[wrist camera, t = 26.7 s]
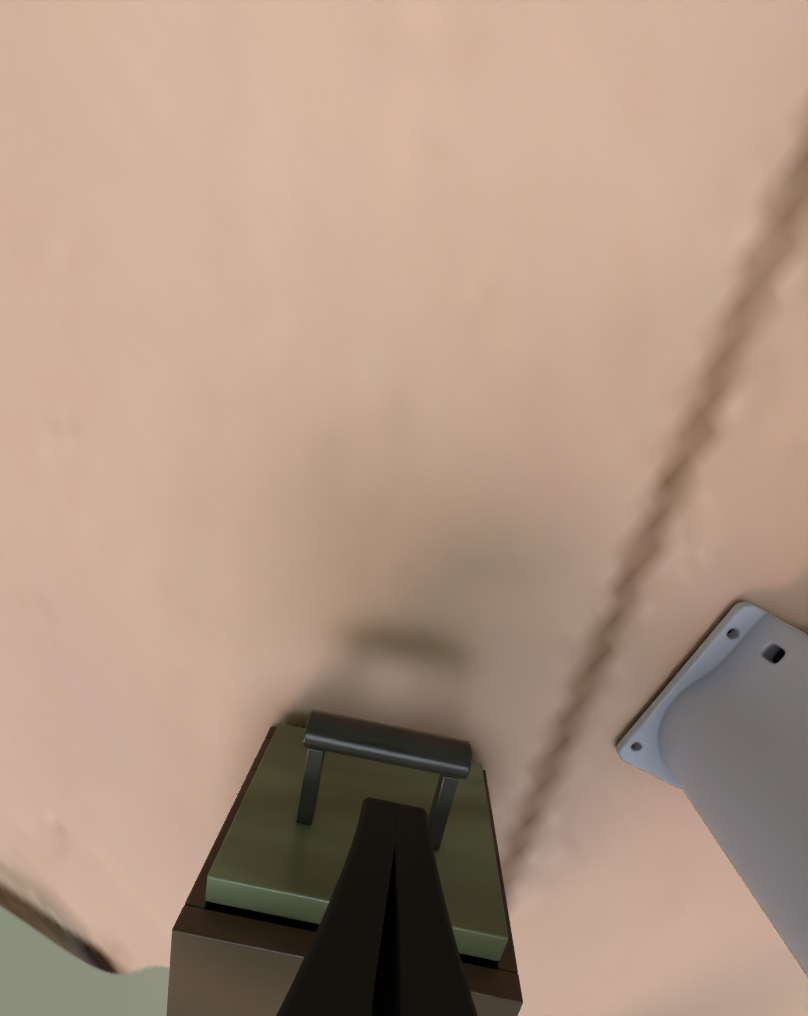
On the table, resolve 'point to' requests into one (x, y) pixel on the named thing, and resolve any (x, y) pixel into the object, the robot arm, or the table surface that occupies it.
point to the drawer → (334, 818)
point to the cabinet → (283, 952)
